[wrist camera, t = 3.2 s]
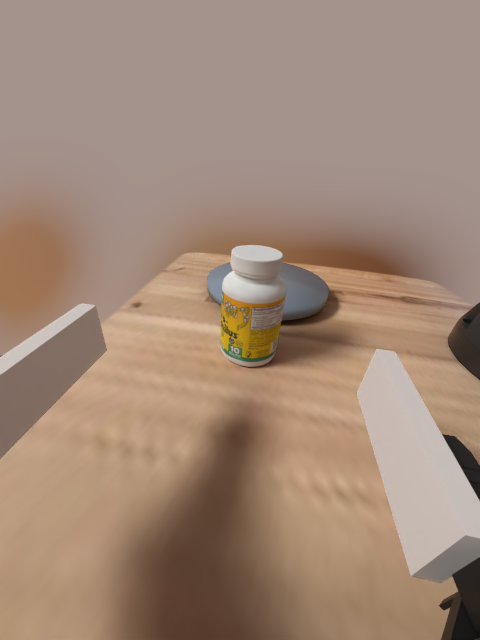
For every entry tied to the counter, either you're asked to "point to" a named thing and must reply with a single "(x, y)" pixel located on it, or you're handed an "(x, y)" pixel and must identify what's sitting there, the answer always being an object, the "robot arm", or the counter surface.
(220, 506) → the counter surface
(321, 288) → the slate dish
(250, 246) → the supplement bottle
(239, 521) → the counter surface
